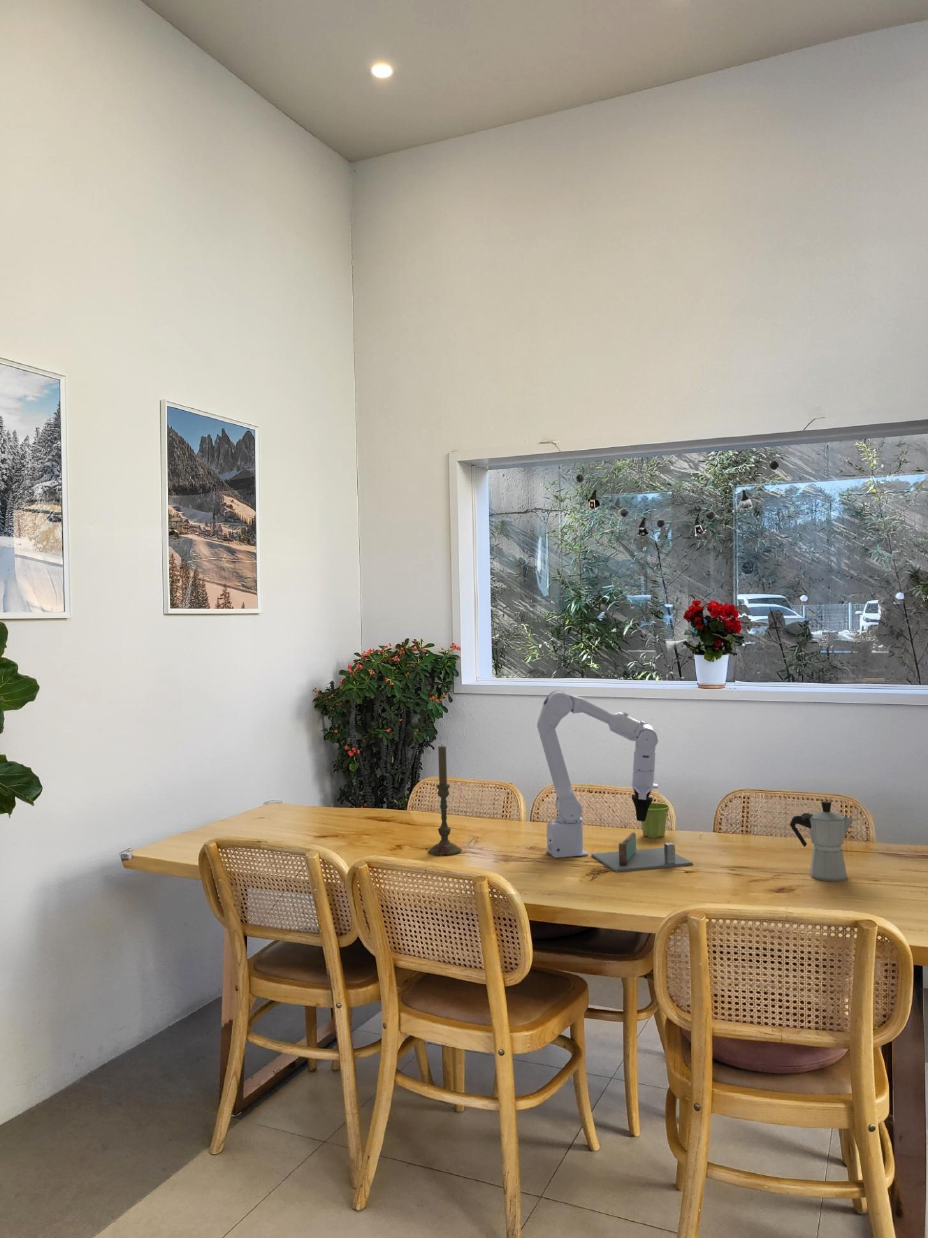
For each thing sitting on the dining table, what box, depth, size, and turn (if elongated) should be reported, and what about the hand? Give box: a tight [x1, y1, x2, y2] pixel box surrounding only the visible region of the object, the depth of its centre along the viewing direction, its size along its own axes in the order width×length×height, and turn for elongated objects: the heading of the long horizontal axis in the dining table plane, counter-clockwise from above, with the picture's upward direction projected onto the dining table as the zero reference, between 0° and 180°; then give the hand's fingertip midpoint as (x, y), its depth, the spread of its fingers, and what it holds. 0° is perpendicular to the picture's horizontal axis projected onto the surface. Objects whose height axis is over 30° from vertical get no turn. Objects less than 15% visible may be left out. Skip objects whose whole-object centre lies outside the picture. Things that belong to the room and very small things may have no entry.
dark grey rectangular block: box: [663, 842, 676, 864], centre depth 239 cm, size 2×2×6 cm
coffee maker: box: [789, 800, 856, 882], centre depth 225 cm, size 15×9×18 cm, turn 77°
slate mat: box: [591, 847, 694, 873], centre depth 244 cm, size 21×17×1 cm
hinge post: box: [618, 842, 627, 866], centre depth 238 cm, size 2×2×6 cm
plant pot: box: [640, 802, 670, 839], centre depth 272 cm, size 9×9×9 cm
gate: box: [621, 832, 637, 861], centre depth 245 cm, size 12×1×5 cm, turn 158°
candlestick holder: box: [428, 743, 462, 857], centre depth 259 cm, size 9×9×30 cm
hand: (641, 815), depth 258 cm, fingers open, 7 cm apart
